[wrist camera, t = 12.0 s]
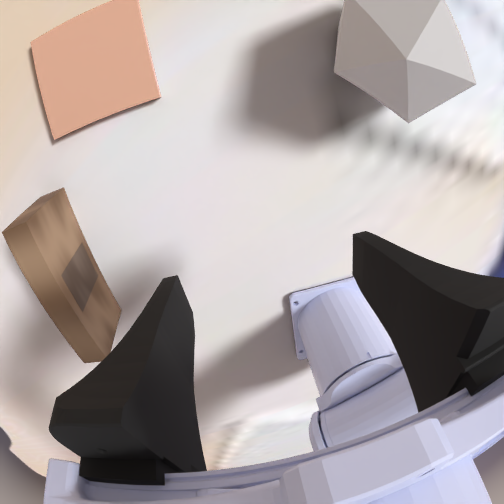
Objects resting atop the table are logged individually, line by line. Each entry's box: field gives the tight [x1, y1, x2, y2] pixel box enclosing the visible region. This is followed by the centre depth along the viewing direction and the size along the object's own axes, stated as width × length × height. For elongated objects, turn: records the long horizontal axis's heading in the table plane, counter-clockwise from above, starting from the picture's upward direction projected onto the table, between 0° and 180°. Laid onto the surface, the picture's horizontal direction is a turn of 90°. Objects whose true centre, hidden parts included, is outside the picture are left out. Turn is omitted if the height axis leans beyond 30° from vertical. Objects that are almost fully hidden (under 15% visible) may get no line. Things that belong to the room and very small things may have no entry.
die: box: [334, 0, 476, 123], centre depth 13 cm, size 8×9×10 cm
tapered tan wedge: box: [2, 188, 121, 363], centre depth 19 cm, size 12×2×6 cm, turn 10°
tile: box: [31, 0, 161, 140], centre depth 14 cm, size 1×8×8 cm
